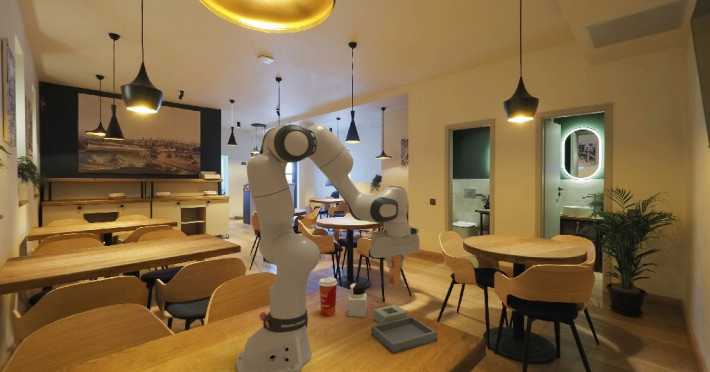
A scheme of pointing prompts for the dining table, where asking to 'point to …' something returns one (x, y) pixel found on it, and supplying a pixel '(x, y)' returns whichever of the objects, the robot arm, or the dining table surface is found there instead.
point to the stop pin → (395, 270)
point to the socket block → (389, 314)
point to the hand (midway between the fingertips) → (395, 266)
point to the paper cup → (328, 296)
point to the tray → (403, 334)
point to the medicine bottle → (357, 300)
